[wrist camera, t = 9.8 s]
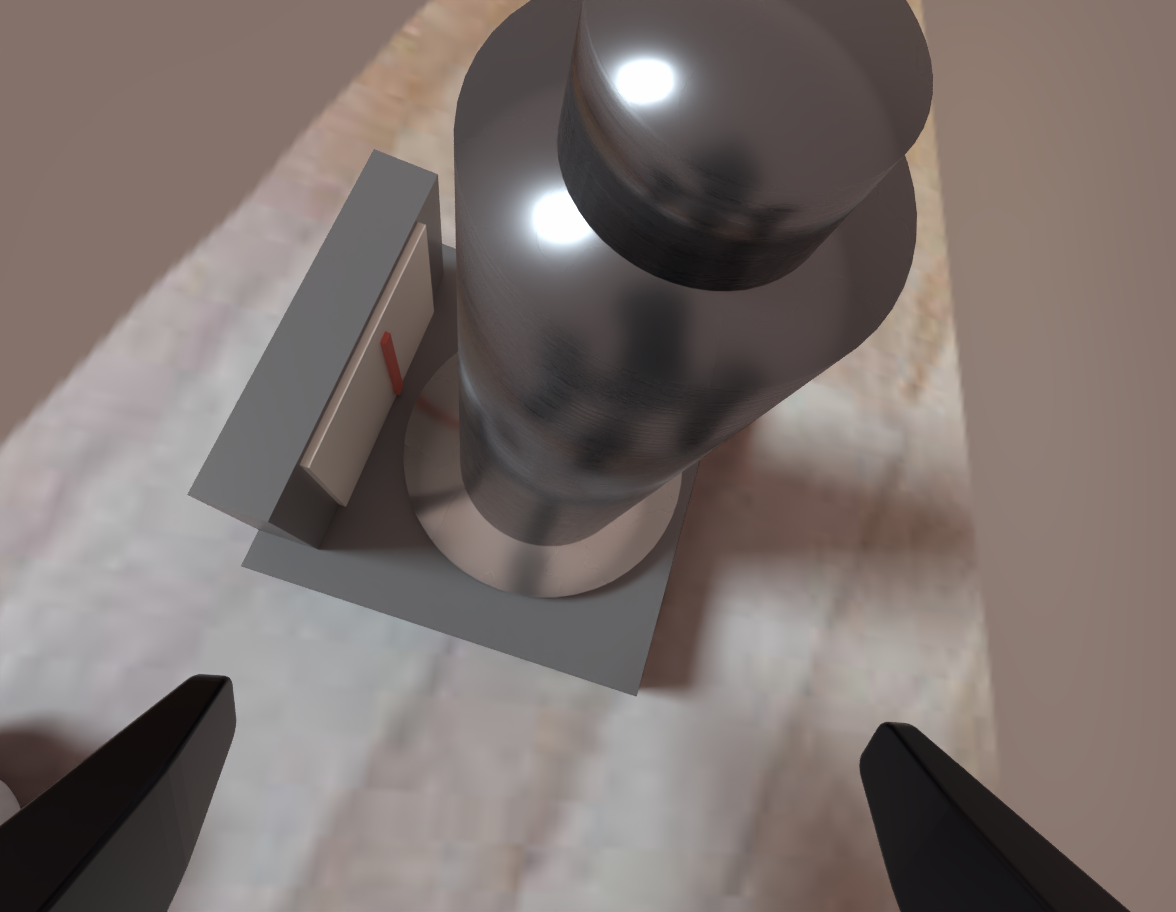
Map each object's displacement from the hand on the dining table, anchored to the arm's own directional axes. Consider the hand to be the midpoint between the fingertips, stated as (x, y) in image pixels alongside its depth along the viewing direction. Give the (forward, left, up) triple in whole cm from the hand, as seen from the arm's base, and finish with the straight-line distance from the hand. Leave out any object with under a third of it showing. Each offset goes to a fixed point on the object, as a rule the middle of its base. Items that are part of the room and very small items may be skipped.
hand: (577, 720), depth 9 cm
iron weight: (+6, +1, -8) cm, 10 cm away
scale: (+6, +2, -11) cm, 13 cm away
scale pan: (+6, +1, -9) cm, 10 cm away
